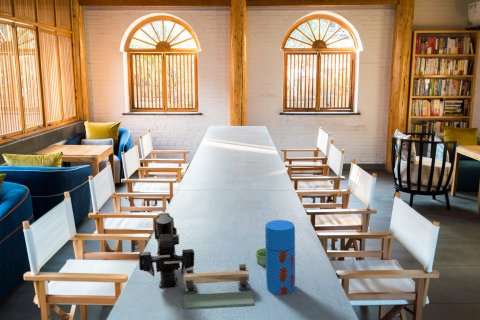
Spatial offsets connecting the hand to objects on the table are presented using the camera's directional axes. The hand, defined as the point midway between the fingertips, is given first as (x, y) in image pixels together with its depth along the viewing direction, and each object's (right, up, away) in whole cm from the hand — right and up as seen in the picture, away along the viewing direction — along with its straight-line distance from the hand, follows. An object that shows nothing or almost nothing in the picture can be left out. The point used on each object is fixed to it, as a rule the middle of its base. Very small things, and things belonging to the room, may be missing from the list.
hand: (168, 274), depth 149 cm
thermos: (+39, -11, +22) cm, 46 cm away
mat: (+16, -13, +14) cm, 25 cm away
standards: (+15, -11, +22) cm, 29 cm away
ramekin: (+35, -6, +44) cm, 57 cm away
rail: (+15, -8, +20) cm, 26 cm away
